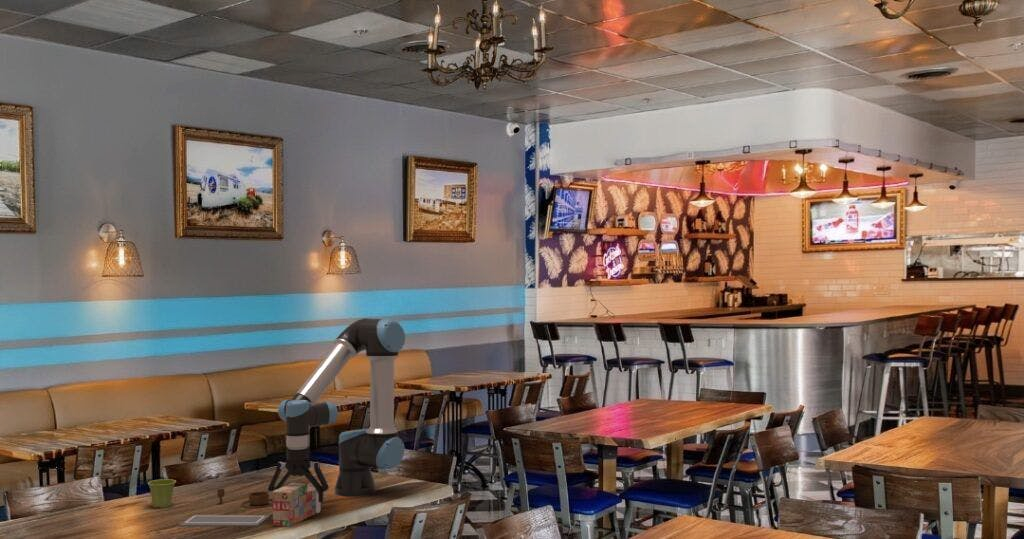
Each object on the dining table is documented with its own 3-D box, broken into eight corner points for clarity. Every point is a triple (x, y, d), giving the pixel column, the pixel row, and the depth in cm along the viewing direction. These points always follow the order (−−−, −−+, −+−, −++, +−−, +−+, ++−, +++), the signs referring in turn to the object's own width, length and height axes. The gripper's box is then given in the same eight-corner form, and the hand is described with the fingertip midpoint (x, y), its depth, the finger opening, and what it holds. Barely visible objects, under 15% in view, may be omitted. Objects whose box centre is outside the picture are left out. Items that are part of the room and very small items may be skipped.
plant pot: (168, 501, 353) (168, 477, 353) (180, 506, 346) (180, 481, 346) (143, 506, 346) (143, 481, 346) (155, 510, 339) (154, 485, 339)
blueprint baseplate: (269, 518, 327) (269, 514, 327) (257, 528, 314) (257, 524, 314) (194, 517, 329) (194, 514, 329) (178, 527, 316) (178, 524, 316)
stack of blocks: (304, 512, 335) (304, 476, 335) (321, 513, 333) (320, 477, 333) (272, 528, 314) (271, 490, 314) (289, 530, 312) (289, 491, 312)
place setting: (247, 515, 334) (247, 497, 334) (213, 506, 347) (213, 490, 347) (289, 505, 348) (288, 488, 348) (255, 497, 360) (255, 481, 360)
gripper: (337, 445, 326) (338, 509, 326) (265, 445, 327) (265, 509, 327) (331, 449, 318) (332, 514, 318) (257, 449, 320) (258, 514, 320)
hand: (298, 512), depth 323 cm, fingers open, 12 cm apart
